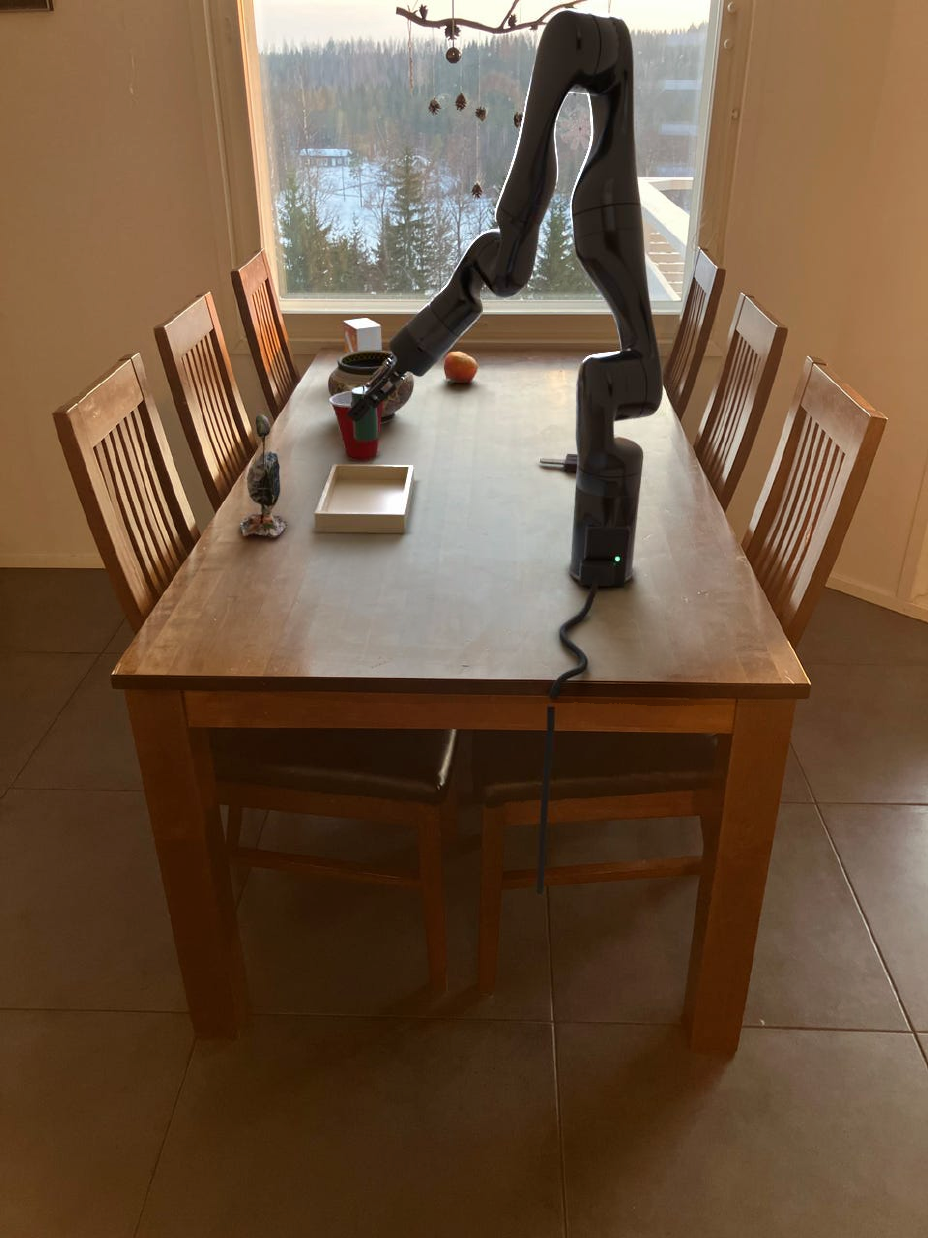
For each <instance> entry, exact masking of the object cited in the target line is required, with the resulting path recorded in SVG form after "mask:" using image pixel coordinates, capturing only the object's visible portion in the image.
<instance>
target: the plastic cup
mask: <svg viewBox="0 0 928 1238" xmlns="http://www.w3.org/2000/svg"><path fill="white" fill-rule="evenodd" d="M376 398H377V397H376ZM328 399H329V400H328V403H329V404H330V405H331V406H332V409H333V411H334V413H335V416H336V420H337V423H338V428H339V432H340V437H341V441H342V442H343V446H344V451H345V454H346V457H347V458H348V459H349V460H352V461H370V460H373V459H374V458H376V457H377V453H378V447H379V441H380V433H381V432H380V431H381V425H382V424H381V414H382V408H383V403H384V401H382V402H381V403H380V404H379V405H378V406H377V421H378V438H377V439H375V440H372V441H358V440H356V439H355V438H354V426H353V420H352V419H351V418H350V417H349V416H348V415H347V412H348V410H349V409H350V408H351V407H352V406H351V402H352V391H347V392H342V393H339V394H336V395H334V396H332V397H331V396H330V397H329V398H328Z"/></svg>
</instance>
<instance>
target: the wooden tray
mask: <svg viewBox="0 0 928 1238" xmlns="http://www.w3.org/2000/svg"><path fill="white" fill-rule="evenodd" d="M414 482H415V466H414V465H413V464H340V463H339V464H332V467H331V469H330V472H329V474H328V477H327V480H326V483H325V485H324V488H323V491H322V493H321V496H320V498H319V500H318V503H317V506H316V508H315V511H314V523H315V524H314V527H315V532H316V533H381V534H382V533H385V534H387V533H388V534H391V533H393V534H405V533H406V528H407V523H408V518H409V511H410V507H411V501H412V495H413V489H414V485H415V483H414Z"/></svg>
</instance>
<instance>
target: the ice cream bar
mask: <svg viewBox="0 0 928 1238" xmlns="http://www.w3.org/2000/svg"><path fill="white" fill-rule="evenodd" d="M577 457H578V455H577V453H566V456H565V459H561V458H547V457H544V458H543V457H542V458H540V459H539V464H542V465H544V464H545V465H556V466H557V465H558V466H563V471H564V472H567V473H577Z"/></svg>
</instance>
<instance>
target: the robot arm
mask: <svg viewBox="0 0 928 1238" xmlns="http://www.w3.org/2000/svg"><path fill="white" fill-rule="evenodd" d="M634 65H635V63H634V49H633V41H632V36H631V32H630V29H629V27H628V25H627V23H626V22H625V21H624V20H623V18H621V17H620V16H618V15H616V14H613V13H607V12H601V11H593V10H586V9H580V8H563V9H560V10H558V11H556V12H555V13H554V14H553V15H552V16H551V17H550V18H549V20H548V21H547V23H546V24H545V26H544V28H543V31H542V34H541V36H540V39H539V42H538V46H537V50H536V54H535V58H534V62H533V66H532V72H531V76H530V81H529V85H528V89H527V90H528V91H527V96H526V100H525V106H524V112H523V115H522V116H523V117H522V120H521V126H520V131H519V137H518V140H517V144H516V148H515V151H514V152H515V153H514V156H513V159H512V162H511V166H510V169H509V171H508V175H507V177H506V180H505V182H504V185H503V187H502V190H501V193H500V196H499V199H498V202H497V204H496V206H495V207H496V208H495V212H494V218H495V222H496V225H497V227H498V229H497V228H496V229H490V230H487V231H485V232H482V233H481V234H480V235H478V236H477V237H476V238H475V239H474V240H473V241H472V242H471V243H470V245H469V246H468V247H467V249H466V251H465V252H464V254H463V256H462V257H461V260H460V261H459V263H458V265H457V266H456V268H455V270H454V271H453V273H452V275H451V277H450V279H449V281H448V283H447V284H446V285H445V286H444V287H443V288H442V289H441V290H440V291H439V292H438V293H437V294H436V295H435V296H434V298H432V300H430V302H428V303H427V304H426V305H425V306H423V308H421V309H420V310H419V311H417V312H416V313H415V314H414V315H413V316H412V318H411V319H409V320H408V322H406V324H405V325H404V326H403V327H402V328H401V329H400V330H399V331H398V332H397V333H396V334H395V335H394V336H393V337H392V338H391V339H390V340H389V342H388V347H389V350H390V352H392V354H393V355H390V356H389V358H387V359H386V360H385V361H384V362H383V364H382V366H381V367H380V368H379V369H378V370H377V371H376V372H375V373H374V374H373V376H372V377H371V378H370V380H369V383H367V384H366V386H365V387H370V388H369V389H368V390H367V391H366V392H365V393H363V394H362V397H361V398H360V399H359V400H358V401H357V402H356V403H355V404H354V405H353V406H352V402H351V406H352V407H351V408H350V409H349V410H348V412H347V415H348V416H349V417H350V418H351V419H352V420H353V421H355V422H357V421H358V420H359V419H360V418H361V417H362V416H363V415H364V414H365V413H366V412H367V411H368V410H369V409H370V408H373V409H375V408H377V406H378V405H379V404H380V403H381V402H382V401H384V400H385V399H386V398H387V397H388V396H389V395H390V394H391V393H393V392H395V391H396V388H397V387H399V386H400V385H401V384H402V383H403V382H404V380H405V379H404V377H405V376H406V372H411V373H412V375H413V376H415V377H417V378H418V377H419V378H421V377H424V376H425V375H426V374H427V373H428V372H429V371H430V370H431V369H432V368H433V367H434V366H435V365H436V364H437V363H438V362H439V361H440V360H441V359H442V358H443V357H444V356H445V355H446V354H447V353H448V352H449V351H450V350H451V349H452V348H453V346H454V345H455V344H456V343H457V341H458V340H459V339H460V338H461V337H462V336H463V335H464V333H465V332H467V331H468V330H469V329H470V327H471V326H472V325H474V324H475V322H477V320H479V319H480V317H481V316H482V314H483V312H484V306H483V301H482V298H481V292H482V290H483V288H484V286H485V285H486V287H487V289H488V290H489V292H491V293H492V294H493V295H494V296H496V297H497V298H500V299H511V298H513V297H516V296H517V295H518V294H520V293H521V292H522V291H523V290H524V289H525V288H526V287H527V286H528V283H529V282H530V280H531V278H532V276H533V272H534V269H535V263H536V258H537V252H538V251H537V250H538V245H539V238H540V231H541V230H540V229H541V225H542V223H543V221H544V219H545V217H546V214H547V211H548V210H549V206H550V204H551V202H552V200H553V196H554V194H555V191H556V188H557V183H558V176H559V165H558V155H557V146H556V124H557V120H558V117H559V114H560V110H561V108H562V106H563V104H564V102H565V100H566V98H567V96H568V94H569V93H570V94H571V93H572V94H573V93H574V94H584V95H585V94H586V95H587V97H588V103H589V108H590V109H589V110H590V126H591V127H590V128H591V131H590V132H591V133H590V135H591V136H590V141H589V147H588V150H587V153H586V156H585V159H584V161H583V163H582V166H581V168H580V172H579V173H578V176H577V179H576V182H575V185H574V188H573V191H572V194H571V200H570V219H571V220H570V221H571V227H572V237H573V246H574V252H575V256H576V259H577V261H578V264H579V266H580V268H581V270H582V271H583V272H584V274H585V276H586V277H587V279H588V280H589V281H590V283H591V285H592V286H593V287H594V288H595V290H596V291H597V292H598V294H599V295H600V297H601V298H602V300H603V301H604V302H605V304H606V305H607V307H608V309H609V310H610V313H611V315H612V317H613V320H614V323H615V327H616V330H617V335H618V338H619V345H620V346H619V347H620V351H612V352H603V353H595V354H591V355H588V356H586V357H585V358H584V359H583V360H582V361H581V363H580V366H579V368H578V371H577V376H576V385H575V445H576V452H577V453H576V454H577V455H578V457H577V472H576V478H575V492H574V494H575V495H574V507H573V520H572V521H573V523H572V537H571V551H570V552H571V553H570V557H571V558H570V564H569V573H570V576H571V577H572V578H573V579H574V580H576V581H578V582H579V585H582V587H590V589H589V593H588V595H587V598H586V601H585V603H584V605H583V607H582V608H581V610H580V612H578V613H577V614H576V615H575V616H573V617H572V618H570V619H568V620H567V621H565V622H564V623H563V624H562V625H561V626H560V628H559V631H558V637H559V639H560V641H561V642H562V644H563V645H564V647H566V648H567V649H568V650H570V651H571V653H573V654H574V655H575V656H577V658H578V659H579V665H578V666H577V667H574V668H572V669H569V670H567V671H565V672H564V673H562V674H561V675H560V676H558V677H557V678H556V680H555V681H554V682H553V684H552V686H551V689H550V691H549V695H548V696H549V698H551V699H555V698H557V696H558V693H559V691H560V689H561V687H562V686H563V684H564V683H565V682H567V680H570V679H571V678H573V677H576V676H578V675H581V674H582V673H584V672H585V671H586V669H587V668H588V665H589V664H588V662H589V661H588V657H587V655H586V653H584V651H583V650H582V649H581V648H579V647H578V646H577V645H576V644H575V643H573V641H571V640H570V638H569V637H568V635H567V631H568V630H569V629H570V628H571V627H572V626H574V625H576V624H577V623H578V622H580V621H582V620H583V619H584V618H585V617H586V616H587V614H588V613H589V612H590V611H591V608H592V605H593V603H594V600H595V598H596V595H597V592H598V588H599V587H606V588H607V587H608V588H609V587H610V588H613V587H614V588H623V587H625V586H626V583H627V582H629V581H630V580H631V579H632V577H633V572H634V571H633V570H634V569H633V564H634V555H635V543H636V534H637V533H636V532H637V523H638V512H639V505H640V503H639V502H640V493H641V486H642V485H641V484H642V476H643V475H642V473H643V465H644V464H643V463H644V450H643V448H642V446H641V445H640V444H638V443H637V442H635V441H633V440H632V439H629V438H626V437H622V436H618V435H616V434H615V422H621V421H628V420H635V419H643V418H646V417H647V418H648V417H651V416H653V415H654V414H655V413H656V412H657V411H658V410H659V408H660V406H661V404H662V400H663V396H664V395H663V394H664V375H663V374H664V373H663V367H662V361H661V355H660V349H659V345H658V340H657V339H658V338H657V332H656V330H655V324H654V318H653V312H652V306H651V299H650V291H649V290H650V289H649V282H648V273H647V265H646V250H645V236H644V234H645V233H644V222H643V213H642V204H641V196H640V195H641V194H640V189H639V179H638V167H637V153H636V139H635V136H636V135H635V104H634V103H635V73H634V72H635V70H634V68H635V66H634ZM372 394H374V395H375V396H376V397H377V398H376V399H373V398H372V397H371V396H370V395H372ZM555 711H556V707H555V706H547V707H546V734H545V744H544V745H545V746H544V758H543V770H542V784H541V799H540V817H539V819H540V820H539V836H538V837H539V838H538V855H537V856H538V858H537V874H536V875H537V876H536V894H538V895H542V894H543V893H544V884H545V869H546V852H547V849H546V848H547V833H548V815H549V799H550V787H551V786H550V785H551V772H552V762H553V761H552V760H553V748H554V738H555V723H556V722H555V720H556V717H555V713H556V712H555Z"/></svg>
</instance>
